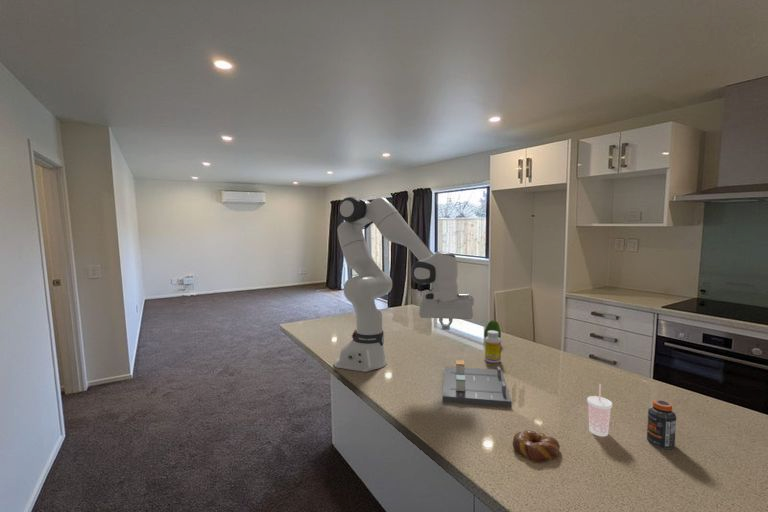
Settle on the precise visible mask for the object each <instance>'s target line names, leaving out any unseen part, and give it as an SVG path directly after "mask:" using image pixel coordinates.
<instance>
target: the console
mask: <svg viewBox="0 0 768 512" xmlns="http://www.w3.org/2000/svg"><path fill="white" fill-rule="evenodd" d="M456 375H461V374H456V366H444V375H443V386H442V387H443V388H442V403H452V404H453V403H454V404H465V405H466V404H467V405H476V406H478V405H479V406H491V407H499V406H500V407H502V408H511V407H513V406H512V404H513V402H512V398H511V394H510V392H509V389H508V386H507V385H508V384H507V382H506V380H505V377H504V373H503V369H501V366H496V369H495V368H494V369H493V368H492V369H491V368H475V367H474V368H473V367H464V375H465V391H456Z"/></svg>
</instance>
